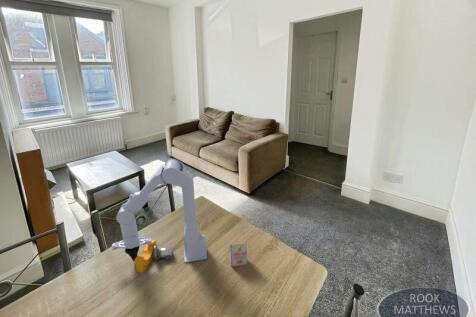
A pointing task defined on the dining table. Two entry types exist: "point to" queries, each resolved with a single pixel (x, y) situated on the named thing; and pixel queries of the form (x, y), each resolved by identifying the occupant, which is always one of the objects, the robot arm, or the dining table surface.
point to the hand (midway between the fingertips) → (135, 259)
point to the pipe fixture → (163, 253)
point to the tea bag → (238, 254)
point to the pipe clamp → (145, 257)
